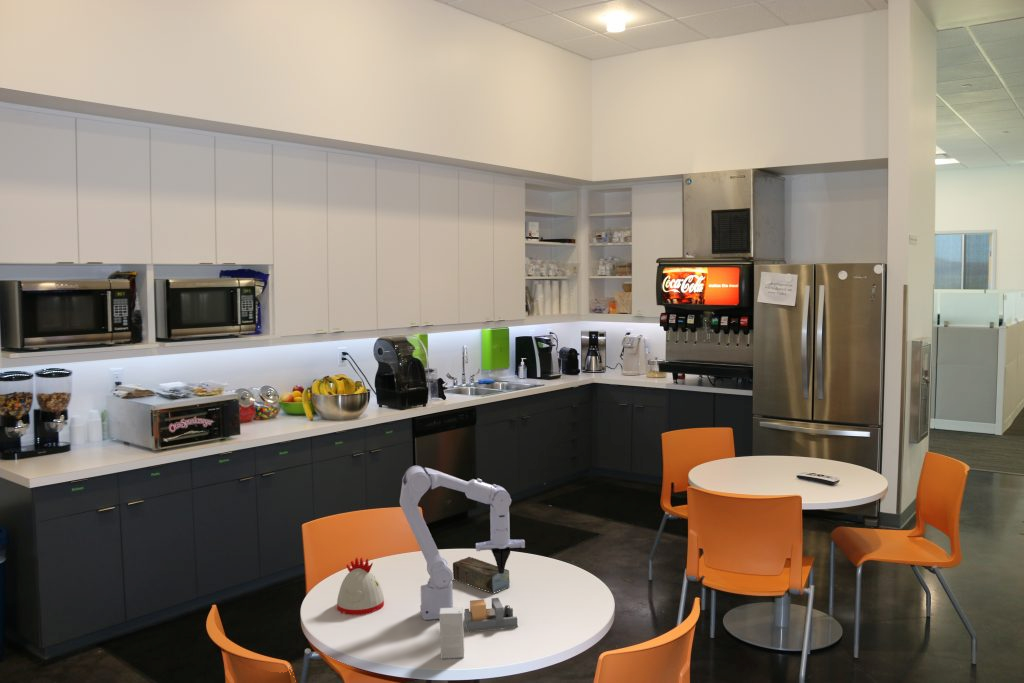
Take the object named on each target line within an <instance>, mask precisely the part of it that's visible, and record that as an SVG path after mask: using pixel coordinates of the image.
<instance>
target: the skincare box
mask: <svg viewBox="0 0 1024 683" xmlns="http://www.w3.org/2000/svg"><path fill="white" fill-rule="evenodd" d="M439 637H440V639H439V640H440V658H441V660H442V659H443V660H444V659H461V658H464V657H465V639H464V638H465V636H464V613H463V607H462V606H459V607H453V608H440V613H439Z"/></svg>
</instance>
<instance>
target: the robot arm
mask: <svg viewBox="0 0 1024 683" xmlns="http://www.w3.org/2000/svg"><path fill="white" fill-rule="evenodd" d="M401 481H402V482H401V490H400V495H399V496H400V497H399V505H400V508H401V510H402V512H403V514H404V516H405V518H406V521H407V522H408V525H409V527H410V529H411V532H412V533H413V536H414V538H415V540H416V542H417V545H418V547H419V548H420V551H421V553H422V555H423V558H424V559H425V562H426V571H427V574H428V575H429V579H428V580H427V583H426V584H422V585H420V607H419V608H420V612H421V616H422V620H424V621H428V620H437V619H439V613H440V608H454V600H453V599H454V598H453V596H454V595H453V579H454V578H453V570H452V569H451V568H450V567H449V564H448V562H447V559H445V558H443V557H442V555H441V554H440V551H439V549H438V547H437V545H436V542H435V541H434V538H433V537H432V534H431V532H430V530H429V527H428V526H427V522H426V521H425V519H424V516H423V514H422V513H421V510H420V508H419V506H418V505H419V502H420V500H421V498H422V497H423V496H424V494H426V493H427V491H428V490H429V489H431V490H434V489H436V488H438V487H445V488H447V489H451V490H455V491H458V492H461V493H464V494H465V496H466V498H467V499H470V500H473V501H477V502H479V503H483V504H486V505H490V509H489V510H490V512H489V520H490V521H489V522H490V529H489V530H490V531H489V532H490V540H488V541H482V542H476V543H475V550H476V552H481V551H491V553H492V554H493V557H494V559H495V562H496V566H497V567H498V572H499V574H503V573H504V569H505V568H506V564H507V562H508V559H509V556H510V555H511V549H515V548H516V549H517V548H518V549H519V548H521V549H524V548H526V541H525V539H511V537H510V536H511V534H510V532H511V530H510V528H511V527H510V523H511V522H510V506H511V504H512V500H513V499H511V495H510V493H509V492H508V490H506V489H505V488H504V487H503V486H500V485H499V484H498V485H497V484H495V483H493V484H490V483H487V482H484V481H483V480H482V479H480V478H478V477H477V479H474V478H472V479H470V480H469V481H466V480H464V479H461V478H458V477H456V476H453V475H450V474H447V473H444V472H442V471H439V470H436V469H433V468H429V467H422V466H421V465H413V466H410V467H409V468H407V470H405V473H404V474H403V477H402V479H401ZM439 620H440V619H439Z"/></svg>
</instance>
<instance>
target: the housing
mask: <svg viewBox="0 0 1024 683" xmlns="http://www.w3.org/2000/svg"><path fill="white" fill-rule="evenodd" d="M503 607H504V606H503V604H502V602H501V600H500V598H499V597H492V598H491V608H495V612H496V618H495V619H486V620H476V621H472V616H471V613H470V608H464V613H463V622H464V624H465V626H466V627H465V628H466V629H467V632H468V633H474V632H475V633H476V632H484V631H493V630H495V631H496V630H502V629H501V628H505V629H513V627H514V628H518V627H519V626H518V617H517V616H514V609H513V607H510V612H511V617H505V618H503Z"/></svg>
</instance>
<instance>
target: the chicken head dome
mask: <svg viewBox="0 0 1024 683" xmlns="http://www.w3.org/2000/svg"><path fill="white" fill-rule="evenodd" d="M373 563H374V562H371V563H370V564H369V558H366V560H365V562H364V559H363V557H361V558H360V559H359V558H358V557H356V558H355V561H353V560H351V561H350V565H351V566H350V565H349V564H348V563H347V564H346V568H347V570H348V573H347V574H346V576H344V578H343V580H342V582H341V585H340V588H339V591H338V594H337V595H338V596H337V599H336V600H337V601H336V605H337V606H336V609H337V611H338V612H339V613H341V614H344V615H349V616H362V615H368V614H372V613H375V612H377V611H379V610H381V609H383V607H384V605H385V598H384V592H383V590H382V589H383V588H382V587H381V585H380V582H379V580H378V578H377V577H376V576H375V575H374V573H373V572H372V571H371V569H372V567H373Z"/></svg>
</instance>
